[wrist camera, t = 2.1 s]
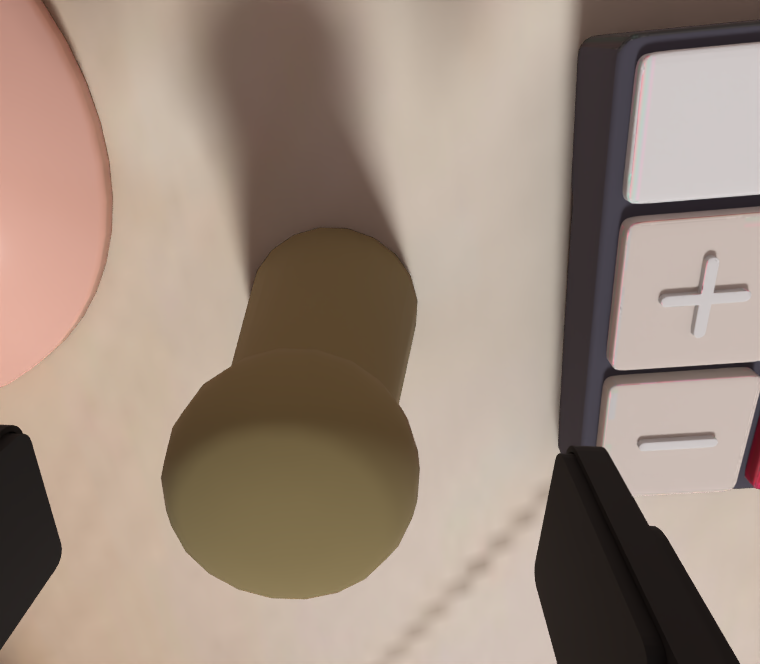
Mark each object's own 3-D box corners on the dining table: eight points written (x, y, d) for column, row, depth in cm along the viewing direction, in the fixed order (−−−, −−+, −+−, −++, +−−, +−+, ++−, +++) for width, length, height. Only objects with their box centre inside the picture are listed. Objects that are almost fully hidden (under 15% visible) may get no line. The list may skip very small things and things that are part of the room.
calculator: (582, 515, 20) (631, 32, 13) (550, 439, 23) (576, 37, 17) (909, 497, 19) (1137, -16, 12) (822, 423, 23) (960, -1, 16)
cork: (299, 406, 22) (224, 681, 12) (218, 271, 20) (38, 465, 10) (443, 347, 21) (496, 594, 11) (373, 197, 18) (357, 329, 8)
